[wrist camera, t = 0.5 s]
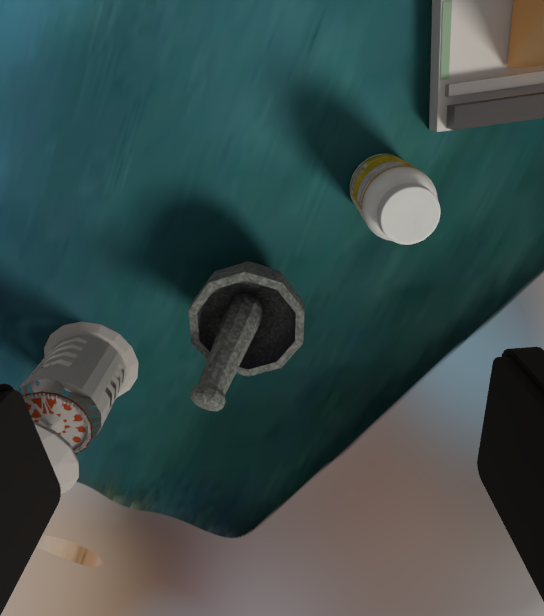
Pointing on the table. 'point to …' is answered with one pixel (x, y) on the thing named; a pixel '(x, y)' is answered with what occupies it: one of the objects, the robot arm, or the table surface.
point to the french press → (77, 390)
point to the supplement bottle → (395, 199)
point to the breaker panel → (478, 68)
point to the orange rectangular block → (527, 34)
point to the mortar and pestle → (243, 327)
